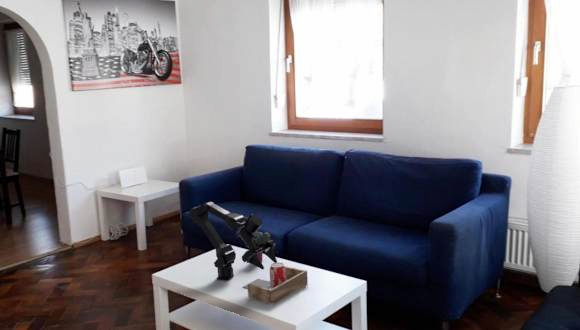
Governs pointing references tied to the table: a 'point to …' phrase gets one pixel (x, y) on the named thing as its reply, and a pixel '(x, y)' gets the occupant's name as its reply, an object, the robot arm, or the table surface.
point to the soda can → (277, 274)
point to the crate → (279, 287)
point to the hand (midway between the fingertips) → (270, 265)
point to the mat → (259, 283)
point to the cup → (260, 252)
